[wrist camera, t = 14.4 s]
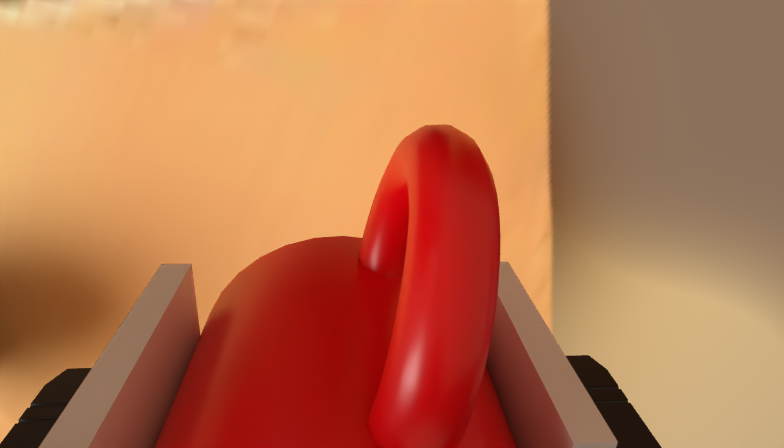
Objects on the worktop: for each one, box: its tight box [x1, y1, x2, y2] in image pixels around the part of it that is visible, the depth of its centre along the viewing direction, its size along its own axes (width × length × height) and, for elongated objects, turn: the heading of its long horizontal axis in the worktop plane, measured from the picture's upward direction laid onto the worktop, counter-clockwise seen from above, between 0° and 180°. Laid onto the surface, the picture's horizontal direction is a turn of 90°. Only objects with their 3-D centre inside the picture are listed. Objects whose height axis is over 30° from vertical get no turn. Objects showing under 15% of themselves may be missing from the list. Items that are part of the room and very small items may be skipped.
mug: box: [154, 125, 517, 448], centre depth 12 cm, size 8×12×8 cm, turn 165°
